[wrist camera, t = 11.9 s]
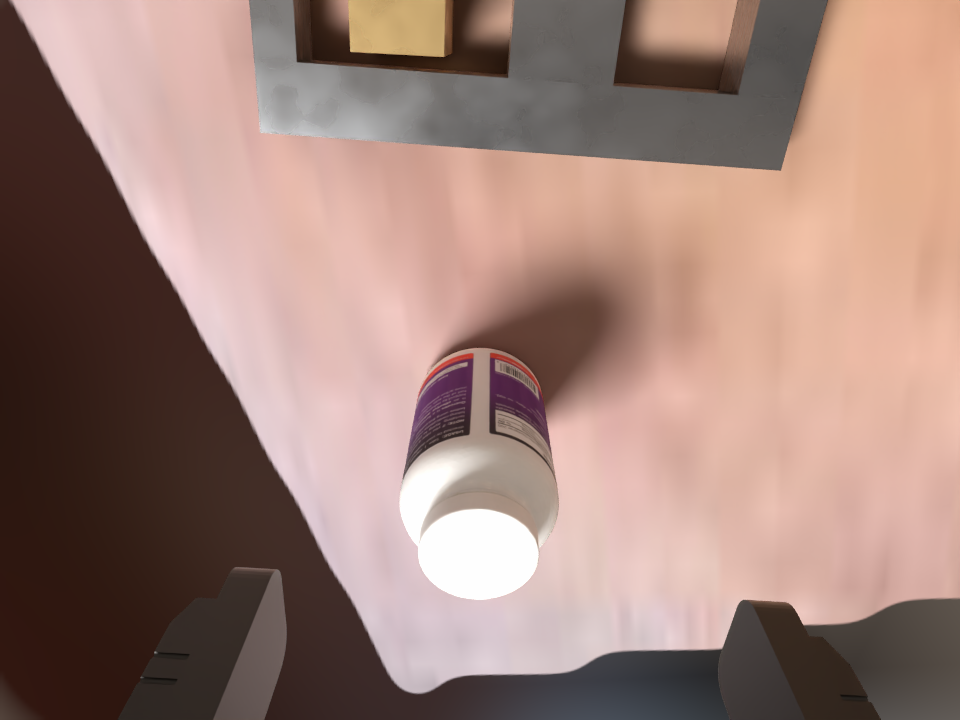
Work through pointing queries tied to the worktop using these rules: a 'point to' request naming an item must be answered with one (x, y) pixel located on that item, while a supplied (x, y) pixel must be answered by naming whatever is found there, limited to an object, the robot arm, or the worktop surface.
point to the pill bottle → (479, 474)
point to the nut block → (401, 27)
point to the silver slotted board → (549, 89)
